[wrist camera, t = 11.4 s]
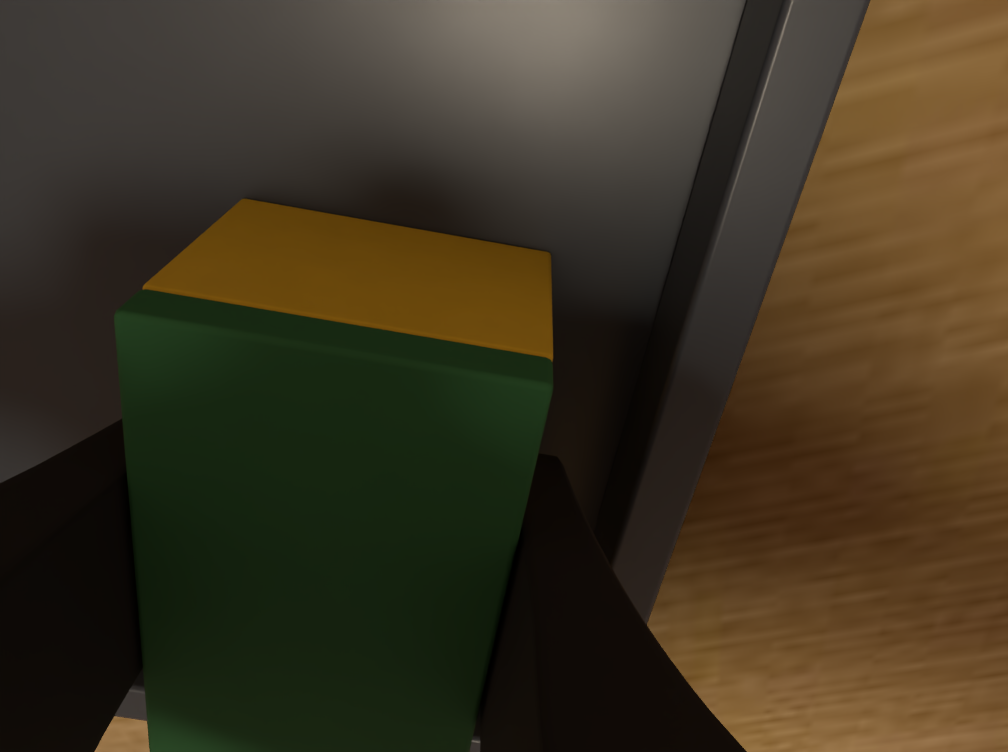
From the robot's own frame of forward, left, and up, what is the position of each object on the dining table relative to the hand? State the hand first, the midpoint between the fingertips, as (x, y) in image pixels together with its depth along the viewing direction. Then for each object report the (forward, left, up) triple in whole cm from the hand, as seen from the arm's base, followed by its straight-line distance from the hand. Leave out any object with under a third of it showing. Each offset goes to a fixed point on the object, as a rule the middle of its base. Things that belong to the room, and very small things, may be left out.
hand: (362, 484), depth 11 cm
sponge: (0, 0, -1) cm, 1 cm away
